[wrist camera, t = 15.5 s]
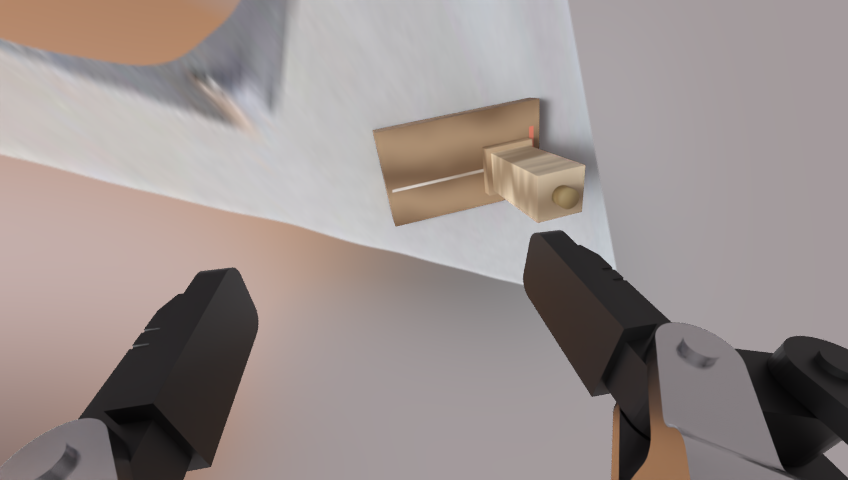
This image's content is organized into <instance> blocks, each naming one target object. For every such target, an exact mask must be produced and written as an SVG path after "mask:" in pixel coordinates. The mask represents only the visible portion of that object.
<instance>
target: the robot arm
mask: <svg viewBox="0 0 848 480" xmlns="http://www.w3.org/2000/svg"><path fill="white" fill-rule="evenodd" d="M523 282H524V288H525V291H526V293H527V295H528V297H529V299H530V300H531V302H532V303H533V305H534V307H535V308H536V310H537V311H538V313H539V314H540V316H541V318H542V319H543V321H544V322H545V324H546V325H547V327H548V328H549V330H550V332H551V333H552V335H553V336H554V338H555V339H556V341H557V343H558V344H559V346H560V347H561V349H562V351H563V352H564V354H565V355H566V357H567V358H568V360H569V362H570V363H571V365H572V366H573V368H574V369H575V371H576V373H577V374H578V376H579V377H580V379H581V380H582V382H583V384H584V385H585V387H586V388H587V390H588V391H589V393H590V395H591V396H592V397H593V396H599V395H604V394H609V393H611V395H612V396H613V398H614V399H615V400H616V404H615V406H614V410H613V435H612V467H611V480H848V478H847V477H846V476H845V475H844V474H843V473H842V472H841V471H840V470H839V469H838V468H837V467H836V466H835V465H834V464H833V463H832V462H831V461H830V460H829V459H828V458H827V457H825V456H824V455H823V453H825V452H826V451H827V450H829V449H830V448H832V447H833V446H835V445H836V444H837V443H839V442H840V441H842V440H843V441H844V442H845V443H846V444H848V349H846V348H843V347H841V346H839V345H836V344H834V343H831V342H828V341H824V340H821V339H818V338H813V337H806V336H794V337H790V338H788V339H786V340H785V341H784V343H783V344H782V345H781V346H780V347H779V348H778V349H777V350H776V351H775V352H774V353H766V352H758V351H750V350H741V349H734V348H733V347H732V346H731V345H729V344H728V343H727V342H726V341H724V340H723V339H721V338H720V337H718V336H717V335H715V334H713V333H711V332H709V331H707V330H705V329H702V328H700V327H697V326H694V325H690V324H685V323H675V322H670V321H669V320H668V319H667V318H666V317H665V316H664V315H663V314H662V313H661V312H660V311H659V310H658V309H656V308H655V307H654V306H653V305H652V304H651V303H650V302H649V301H648V300H647V299H646V298H645V297H644V296H643V295H641V294H640V293H639V292H638V291H637V290H636V289H635V288H634V287H633V286H632V285H631V284H630V283H628V282H627V281H624V280H623V277H622V276H621V275H620V274H619V273H618V272H617V271H616V270H612V267H611V266H610V265H609V264H608V263H607V262H606V261H605V260H604V259H603V258H602V257H601V256H600V255H598V254H596V253H594V252H593V251H591V250H589V249H587V248H585V247H583V246H581V245H577V244H576V243H575V242H574V241H573V240H572V239H571V238H570V237H569V236H568V235H567V234H566V233H565V232H563V231H561V230H557V231H548V232H540V233H534V234H533V235H532V236H531V238H530V242H529V248H528V253H527V258H526V264H525V269H524V274H523ZM144 330H145V332H144V333H141V334H140V336H139V337H138V338H137V340H136V341H135V342H134V344H133V349H129V351H128V352H127V353H126V355H125V356H124V357H123V359H122V360H121V362H120V363H119V364H118V366H117V367H116V368H115V370H114V371H113V373H112V374H111V375H110V377H109V378H108V379H107V381H106V382H105V383H104V385H103V386H102V387H101V389H100V390H99V392H98V393H97V394H96V396H95V397H94V399H93V400H92V401H91V403H90V404H89V405H88V407H87V408H86V409H85V411H84V412H83V413H82V415H81V416H80V418H79V419H78V420H74V421H71V422H68V423H65V424H63V425H60V426H58V427H55V428H54V429H51V430H50V431H47V432H45V433H44V434H42V435H40V436H39V437H37V438H35V439H34V440H33V441H31V442H30V443H28V444H27V445H25V446H24V447H23V448H21V449H20V450H19V451H18V452H16V453H15V454H14V455H13V456H12V457H11V458H10V459H9V460H7V461H6V462H5V463H4V464H3V465H2V466H1V467H0V480H183V479H184V477H185V474H186V472H187V471H192V470H197V469H202V468H208V467H211V465H212V462H213V459H214V456H215V453H216V450H217V447H218V444H219V441H220V439H221V436H222V433H223V430H224V427H225V424H226V421H227V418H228V415H229V413H230V410H231V407H232V404H233V401H234V398H235V395H236V392H237V390H238V386H239V384H240V381H241V378H242V375H243V372H244V369H245V366H246V363H247V361H248V358H249V355H250V352H251V349H252V346H253V343H254V340H255V338H256V334H257V330H258V315H257V310H256V308H255V306H254V303H253V301H252V299H251V297H250V294H249V292H248V290H247V288H246V285H245V283H244V281H243V279H242V277H241V274H240V273H239V271H238V270H237V269H236V268H224V269H216V270H208V271H201V272H199V273H198V274H197V275H196V276H195V277H194V279H193V280H192V282H191V283H190V285H189V286H188V288H187V289H186V291H185V292H184V293H183V294H178V295H177V296H175V297H174V298H173V299H172V300H170V301H169V302H168V303H167V304H165V305H164V306H163V307H162V308H160V309H159V310H158V311H157V313H156V314H155V315H154V316H153V318H152V319H151V321H150V322H149V324H148V325H147V326H146V327H145V329H144Z"/></svg>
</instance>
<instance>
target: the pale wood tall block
mask: <svg viewBox="0 0 848 480" xmlns="http://www.w3.org/2000/svg"><path fill="white" fill-rule="evenodd" d="M482 156H483V169H484V182H485V193H487V194H488V195H489V196H491V195H495V194H499V195H500V196H502V197H503V198H505V199H506V200H507V201H509V202H510V203H511V204H513V205H514V206H515V207H517V208H518V209H519V210H521V211H522V212H523V213H525V214H526V215H528V216H529V217H530V218H532V219H533V220H534V221H536V222H537V223H540V222H543V221H547V220H551V219H555V218H559V217H563V216H567V215H571V214H575V213H579V212H582V202H583V189H584V177H585V165H584V164H581V163H578V162H575V161H572V160H569V159H567V158H564V157H561V156H558V155H555V154H552V153H549V152H546V151H543V150H541V149H538V148H535V147H532V139H530V138H527V137H526V138H521V139H517V140H512V141H508V142H503V143H499V144H494V145H490V146H485V147H482Z"/></svg>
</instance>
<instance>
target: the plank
mask: <svg viewBox="0 0 848 480" xmlns="http://www.w3.org/2000/svg"><path fill="white" fill-rule="evenodd" d="M373 134H374V139H375V143H376V147H377V152H378V156H379V160H380V165H381V169H382V173H383V177H384V182H385V186H386V190H387V195H388V199H389V203H390V208H391V212H392V216H393V220H394V223H395V226H400V225H404V224H408V223H413V222H417V221H421V220H425V219H429V218H433V217H437V216H441V215H445V214H450V213H454V212H458V211H462V210H466V209H470V208H474V207H478V206H482V205H486V204H491V203H495V202H499V201H503V200H506V199H505V198H503V197H502V196H500V195H499V194H495V195H491V196H489V195H488V194H487V193H485V182H484V169H483V156H482V147H485V146H490V145H494V144H499V143H503V142H508V141H512V140H517V139H521V138H526V137H527V138H530V139H532V147H535V148H538V149H539V99H537V98H526V99H521V100H517V101H512V102H507V103H502V104H497V105H492V106H488V107H483V108H478V109H473V110H468V111H463V112H459V113H454V114H449V115H444V116H439V117H434V118H430V119H425V120H420V121H415V122H410V123H405V124H400V125H396V126H391V127H386V128H381V129H376V130H373Z"/></svg>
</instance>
